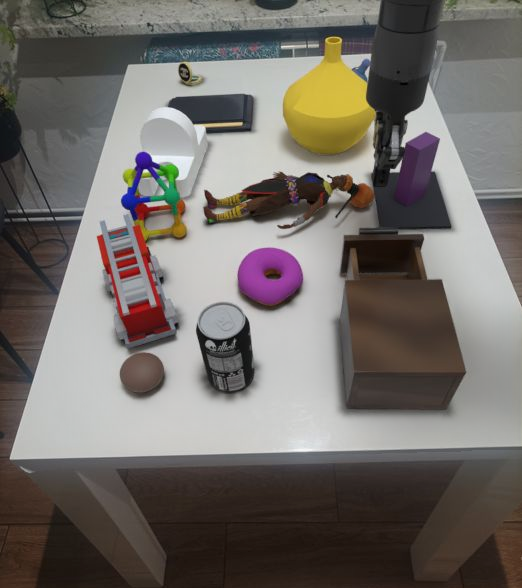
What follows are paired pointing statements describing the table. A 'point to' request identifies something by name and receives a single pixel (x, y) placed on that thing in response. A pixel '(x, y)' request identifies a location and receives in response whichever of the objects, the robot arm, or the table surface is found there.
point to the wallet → (217, 111)
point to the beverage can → (226, 345)
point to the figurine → (289, 196)
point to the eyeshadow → (188, 74)
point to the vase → (328, 105)
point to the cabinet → (399, 345)
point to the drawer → (382, 255)
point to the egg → (141, 372)
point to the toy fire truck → (135, 286)
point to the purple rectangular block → (416, 168)
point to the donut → (268, 263)
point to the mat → (411, 207)
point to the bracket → (173, 148)
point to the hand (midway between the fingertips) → (379, 184)
